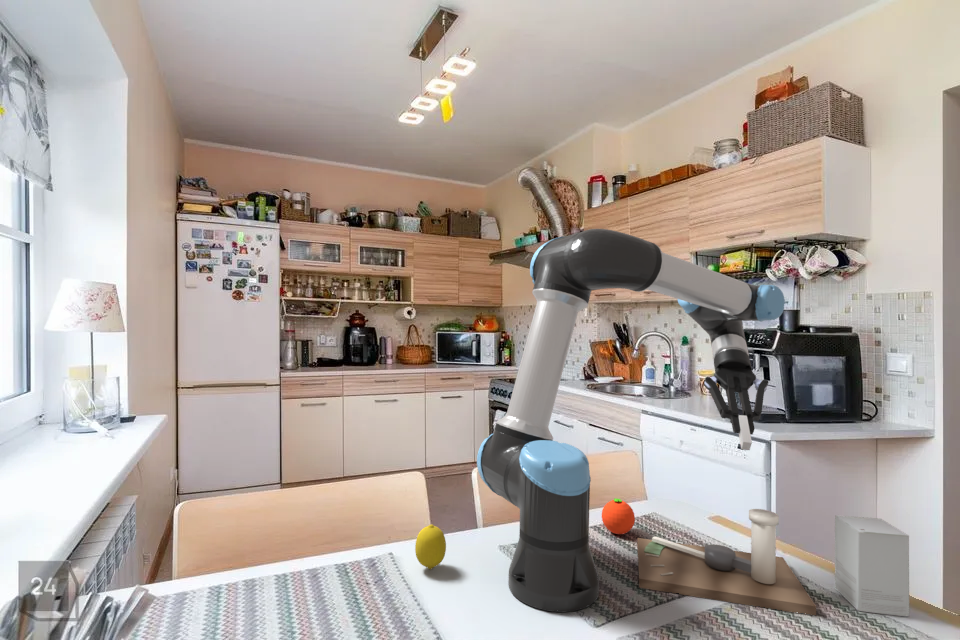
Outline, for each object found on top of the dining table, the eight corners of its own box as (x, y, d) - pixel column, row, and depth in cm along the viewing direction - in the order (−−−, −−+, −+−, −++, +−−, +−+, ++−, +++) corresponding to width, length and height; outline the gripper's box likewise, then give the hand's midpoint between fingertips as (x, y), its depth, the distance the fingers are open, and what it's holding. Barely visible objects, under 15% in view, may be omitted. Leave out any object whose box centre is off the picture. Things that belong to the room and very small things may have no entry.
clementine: (598, 523, 110) (598, 492, 110) (630, 525, 109) (630, 493, 109) (603, 539, 102) (604, 504, 102) (638, 540, 101) (638, 506, 101)
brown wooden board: (639, 587, 83) (639, 577, 83) (637, 545, 99) (637, 536, 99) (816, 616, 75) (816, 605, 75) (782, 565, 92) (782, 556, 92)
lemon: (409, 573, 87) (410, 527, 87) (424, 559, 92) (424, 516, 92) (437, 579, 84) (437, 533, 85) (450, 565, 90) (451, 521, 90)
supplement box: (911, 618, 75) (911, 535, 75) (856, 611, 77) (857, 531, 77) (882, 592, 83) (882, 517, 83) (833, 587, 84) (833, 513, 84)
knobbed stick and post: (647, 545, 95) (648, 488, 95) (659, 537, 99) (659, 483, 99) (773, 589, 80) (774, 521, 80) (781, 578, 83) (782, 513, 83)
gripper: (759, 370, 114) (779, 459, 98) (698, 367, 118) (708, 453, 102) (765, 348, 109) (788, 438, 93) (702, 346, 113) (713, 432, 97)
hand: (746, 446), depth 98 cm, fingers closed
